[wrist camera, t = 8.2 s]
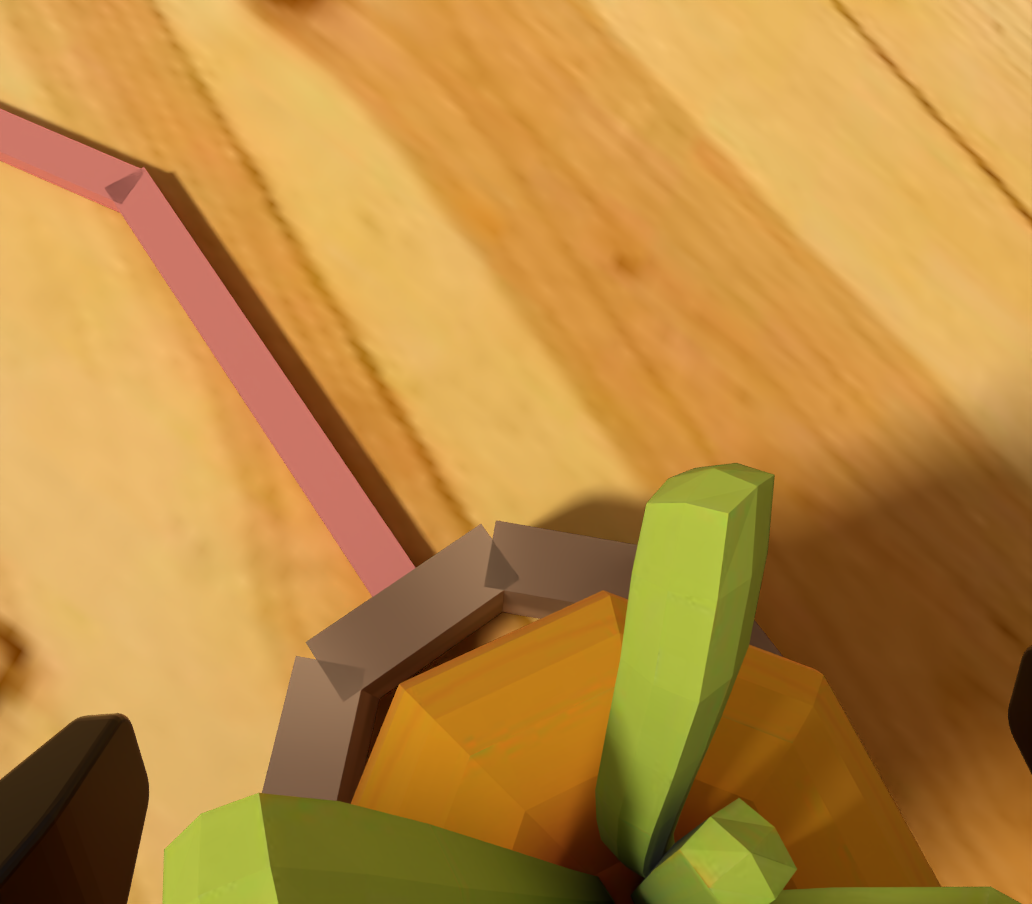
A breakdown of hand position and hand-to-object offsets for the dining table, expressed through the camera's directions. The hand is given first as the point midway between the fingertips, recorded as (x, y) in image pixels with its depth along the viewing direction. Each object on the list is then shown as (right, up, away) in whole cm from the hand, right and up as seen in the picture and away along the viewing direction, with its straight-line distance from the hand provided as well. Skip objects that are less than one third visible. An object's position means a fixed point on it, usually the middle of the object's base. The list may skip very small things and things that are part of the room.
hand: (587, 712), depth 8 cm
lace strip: (-8, +5, +11) cm, 15 cm away
